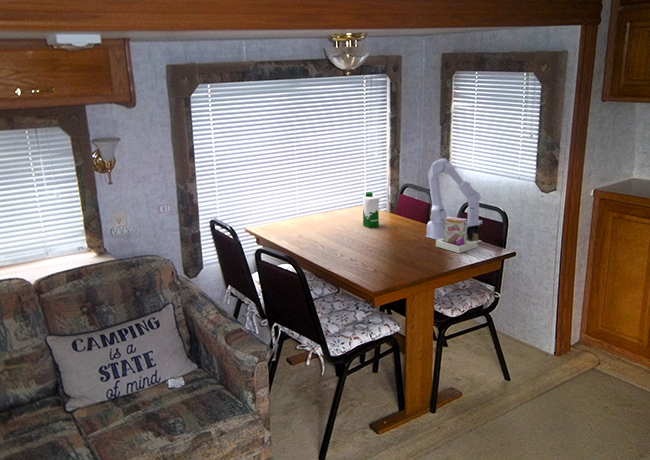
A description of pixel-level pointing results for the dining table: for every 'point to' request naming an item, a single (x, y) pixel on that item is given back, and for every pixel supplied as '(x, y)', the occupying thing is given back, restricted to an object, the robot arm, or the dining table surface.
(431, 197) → the robot arm
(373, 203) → the milk carton
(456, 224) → the candy bar box
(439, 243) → the frame
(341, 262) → the dining table surface
